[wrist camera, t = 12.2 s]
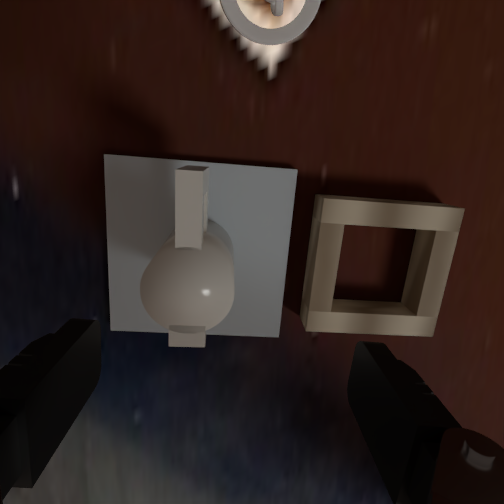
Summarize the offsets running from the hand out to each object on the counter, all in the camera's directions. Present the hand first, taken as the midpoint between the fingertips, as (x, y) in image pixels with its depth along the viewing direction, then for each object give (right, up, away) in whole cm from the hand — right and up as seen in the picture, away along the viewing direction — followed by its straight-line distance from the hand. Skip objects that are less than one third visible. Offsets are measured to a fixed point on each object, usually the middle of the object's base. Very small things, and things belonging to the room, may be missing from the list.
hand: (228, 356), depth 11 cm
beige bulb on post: (-4, +5, +19) cm, 20 cm away
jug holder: (+12, +2, +22) cm, 25 cm away
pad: (-4, +3, +21) cm, 21 cm away
